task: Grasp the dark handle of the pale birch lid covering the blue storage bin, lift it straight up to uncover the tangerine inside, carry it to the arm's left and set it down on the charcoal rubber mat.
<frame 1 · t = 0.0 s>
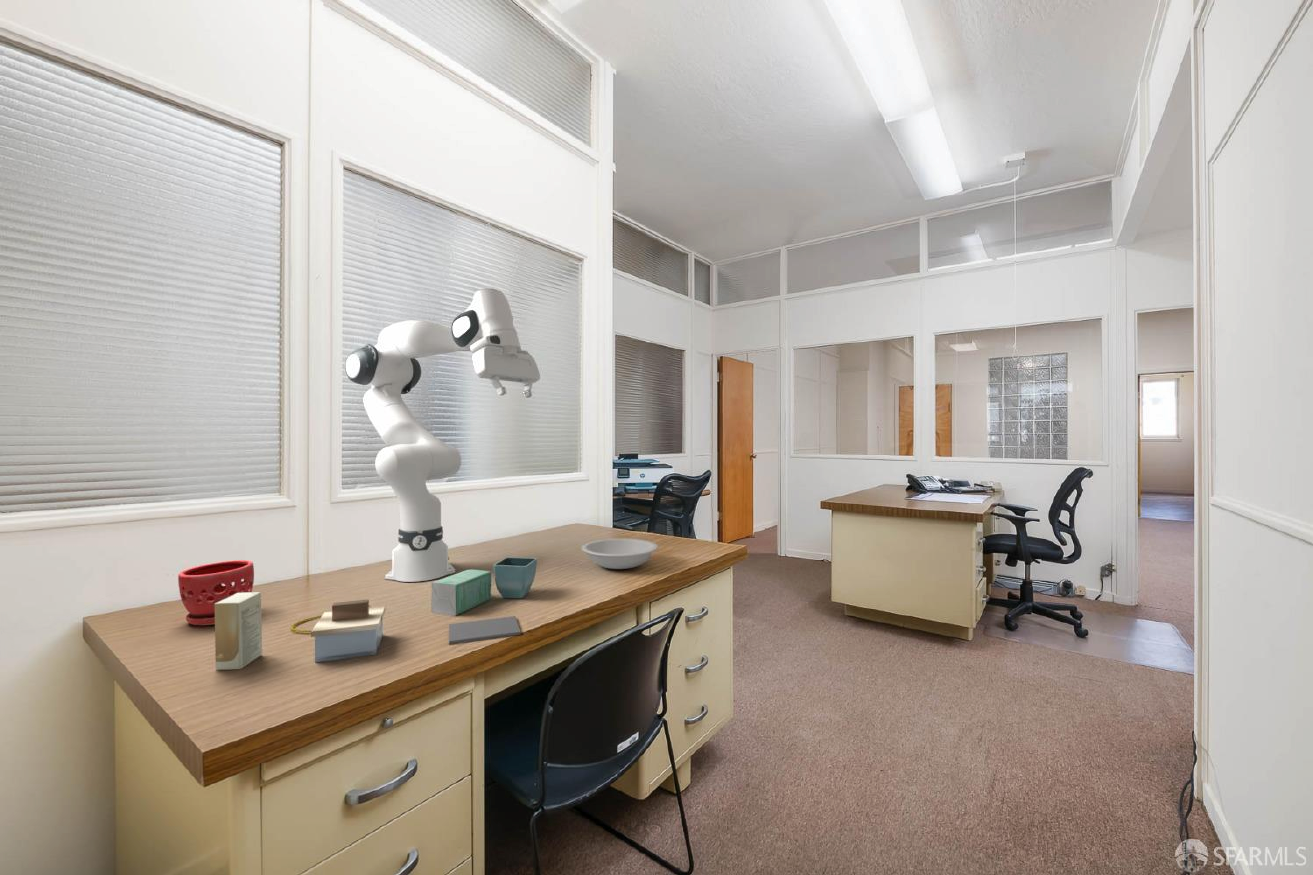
hand: (515, 395, 135), 52 cm above the table, tool tilted 20°, fingers open, 8 cm apart
soup bowl: (620, 567, 165), on the table
blue storage bin: (350, 647, 103), on the table
birch lid: (350, 622, 103), point 5 cm above the table, touching blue storage bin
extension cord: (334, 625, 116), on the table
box: (462, 606, 128), on the table
rubber mat: (484, 630, 112), on the table
skincare box: (239, 663, 96), on the table
flower pot: (515, 596, 135), on the table
tangerine: (350, 635, 103), point 2 cm above the table, touching blue storage bin
plant pot: (217, 619, 118), on the table
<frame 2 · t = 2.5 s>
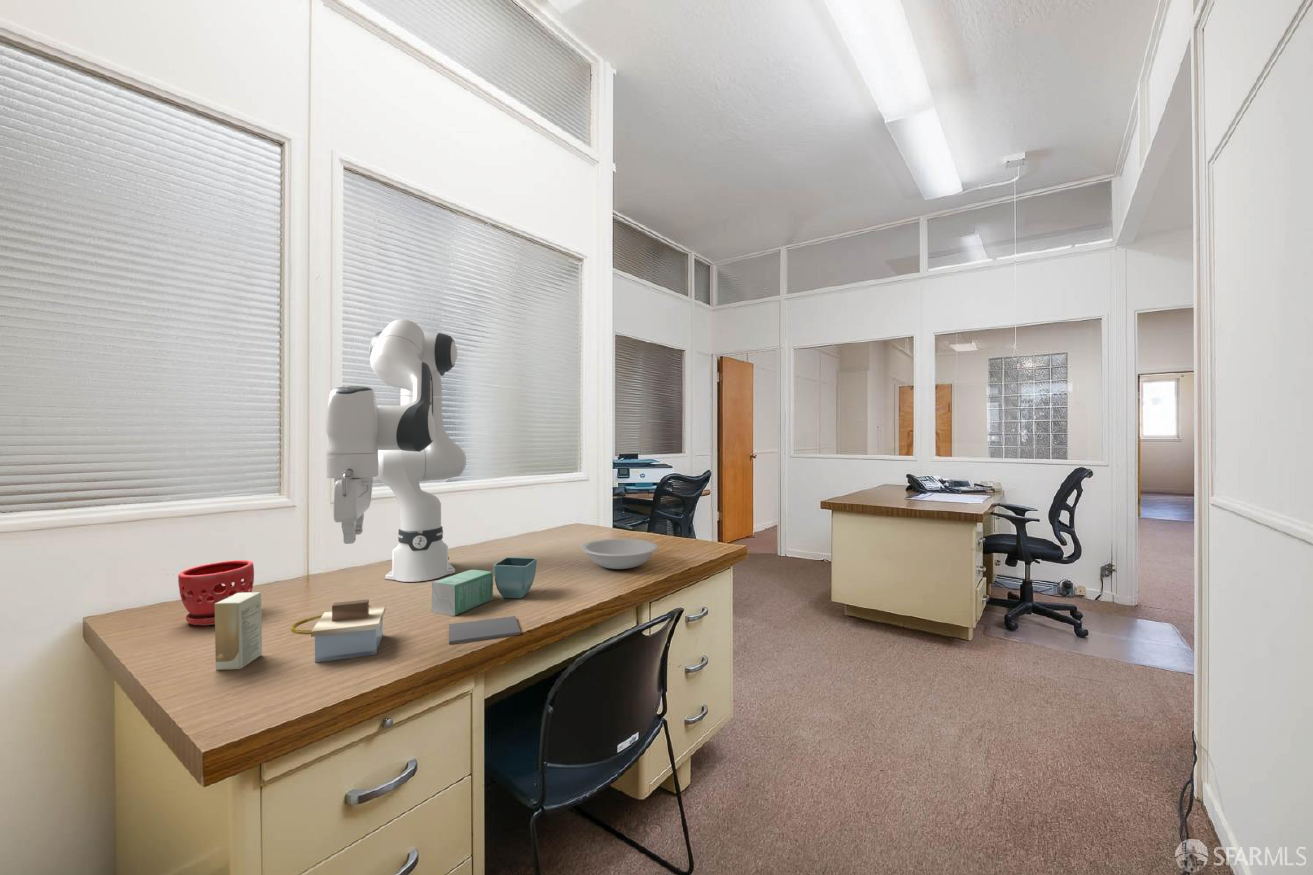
hand: (353, 538, 102), 22 cm above the table, tool pointing down, fingers open, 8 cm apart
nothing on the table moved.
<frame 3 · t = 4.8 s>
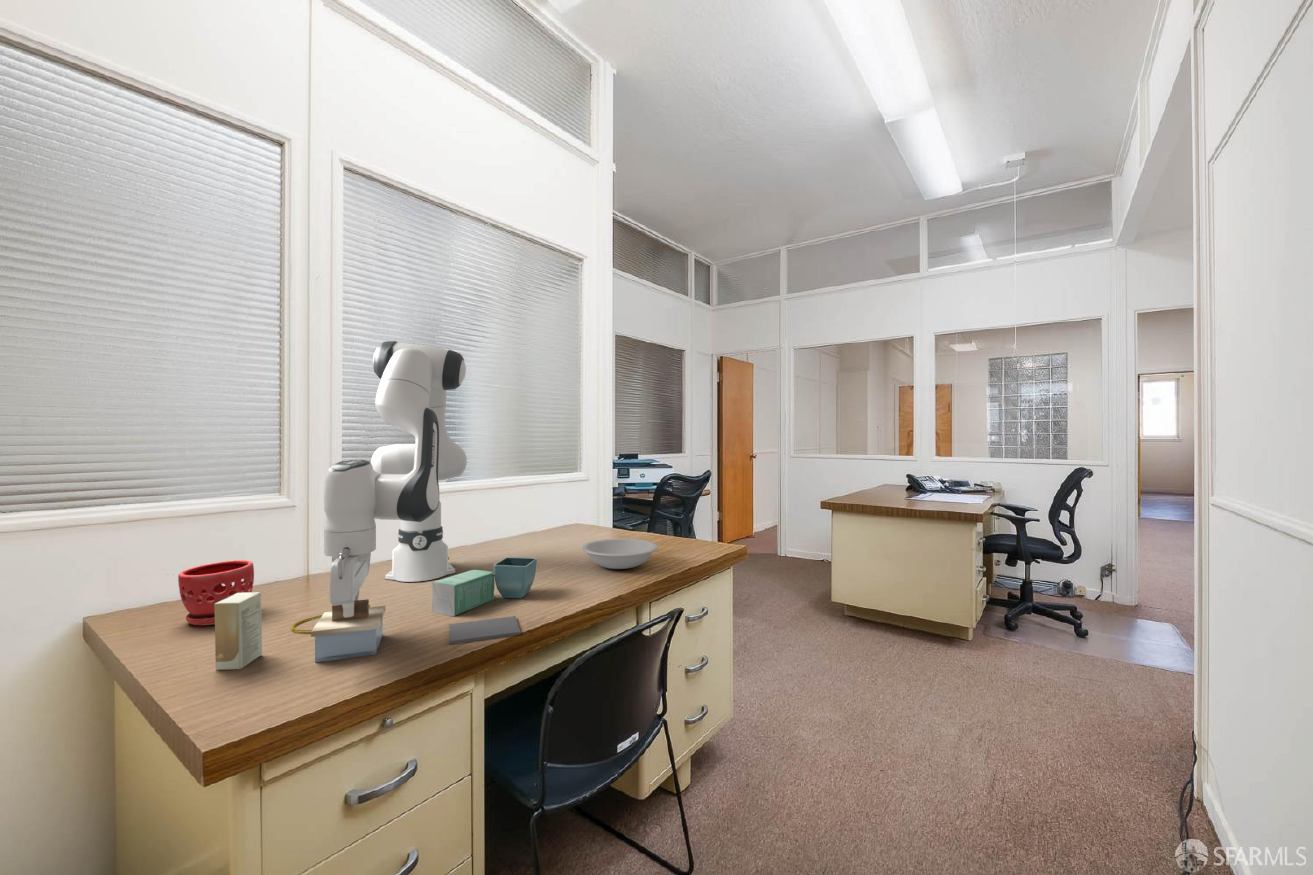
hand: (350, 613, 103), 7 cm above the table, tool pointing down, fingers closed on birch lid, 2 cm apart
birch lid: (350, 622, 103), point 5 cm above the table, touching blue storage bin, gripper
everything else where it was.
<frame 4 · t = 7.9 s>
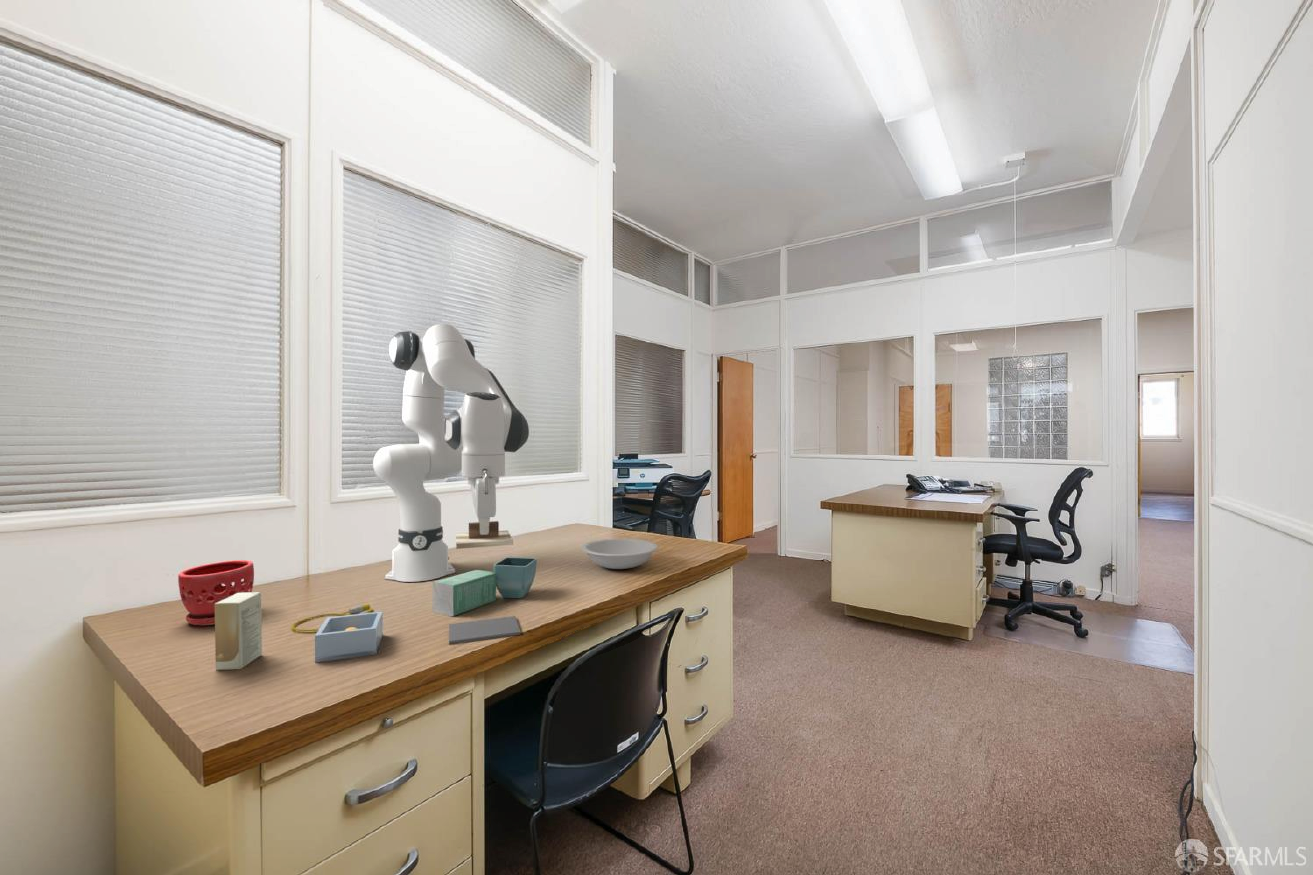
hand: (483, 532, 111), 21 cm above the table, tool pointing down, fingers closed on birch lid
birch lid: (483, 541, 111), point 19 cm above the table, touching gripper
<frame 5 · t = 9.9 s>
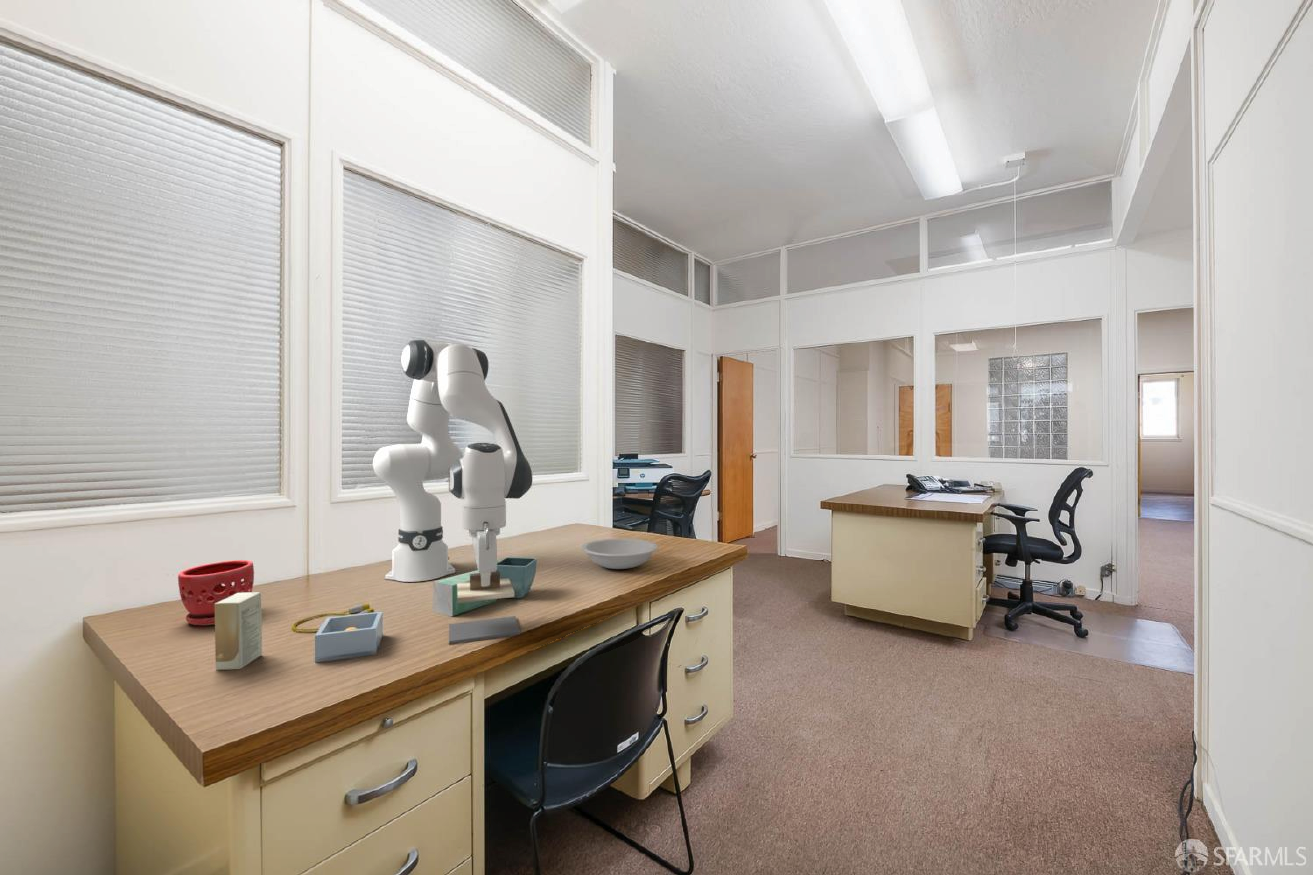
hand: (484, 583, 112), 10 cm above the table, tool pointing down, fingers closed on birch lid
birch lid: (484, 592, 112), point 8 cm above the table, touching gripper
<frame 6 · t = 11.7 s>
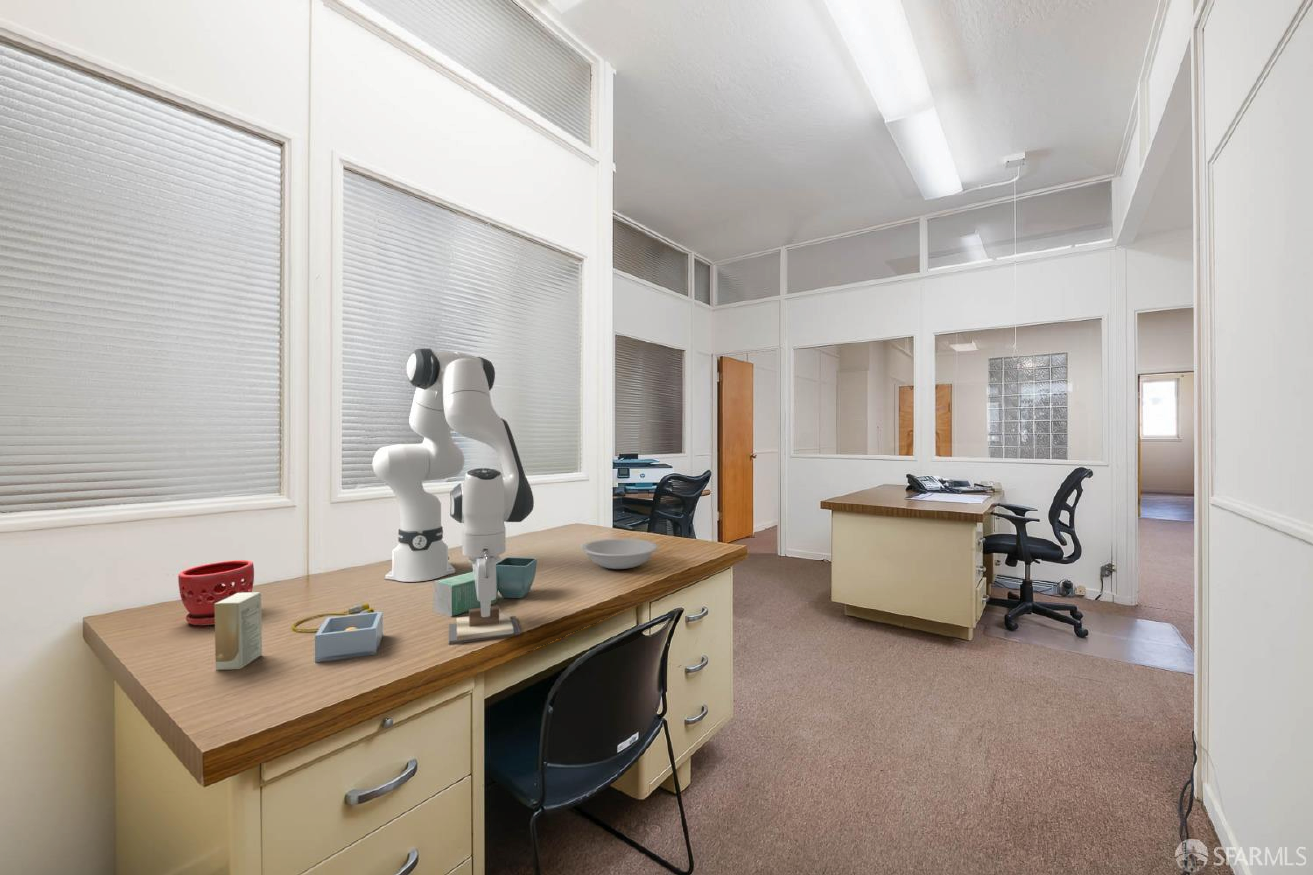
hand: (484, 609, 112), 5 cm above the table, tool pointing down, fingers open, 7 cm apart
birch lid: (484, 627, 112), point 1 cm above the table, touching rubber mat
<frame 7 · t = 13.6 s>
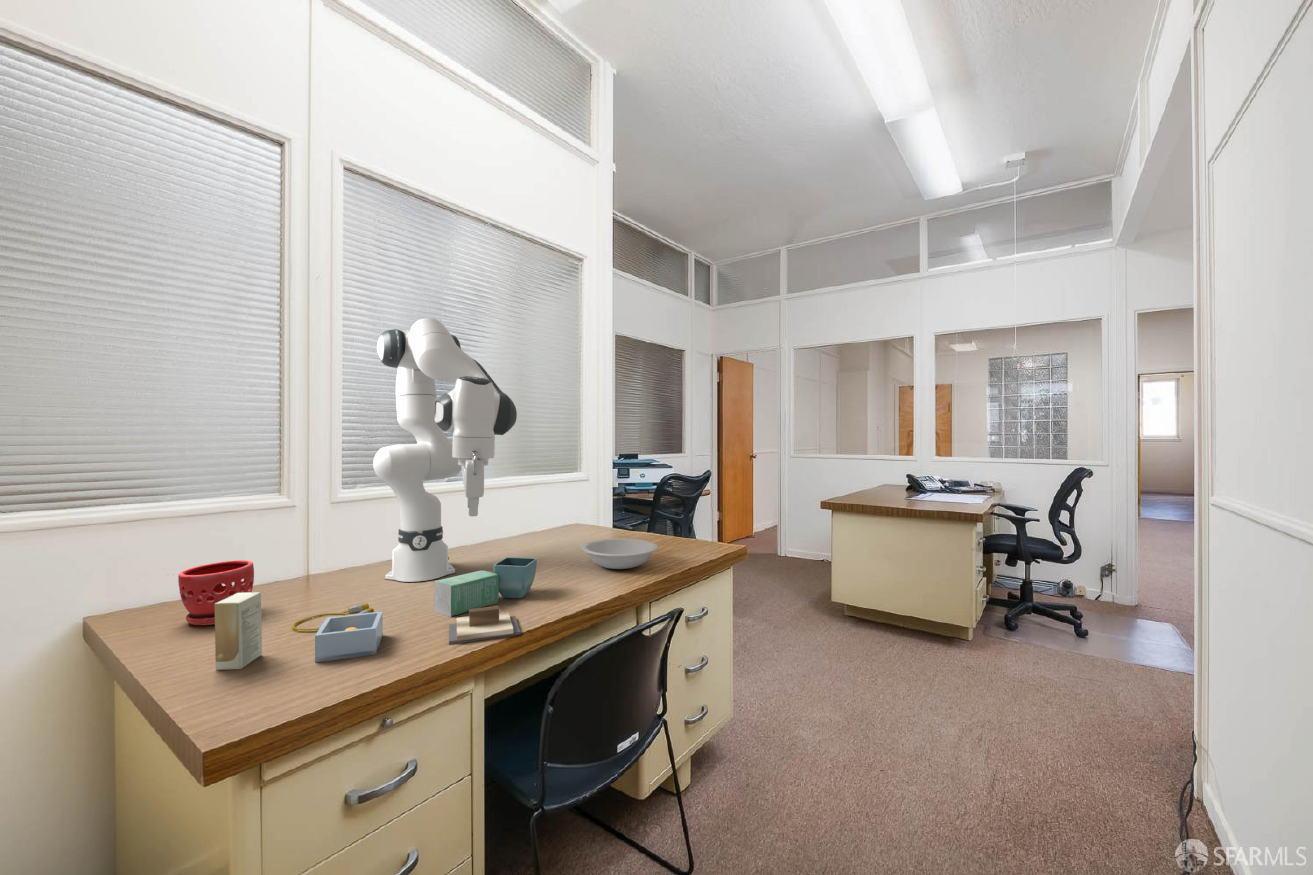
hand: (472, 511, 116), 25 cm above the table, tool pointing down, fingers open, 8 cm apart
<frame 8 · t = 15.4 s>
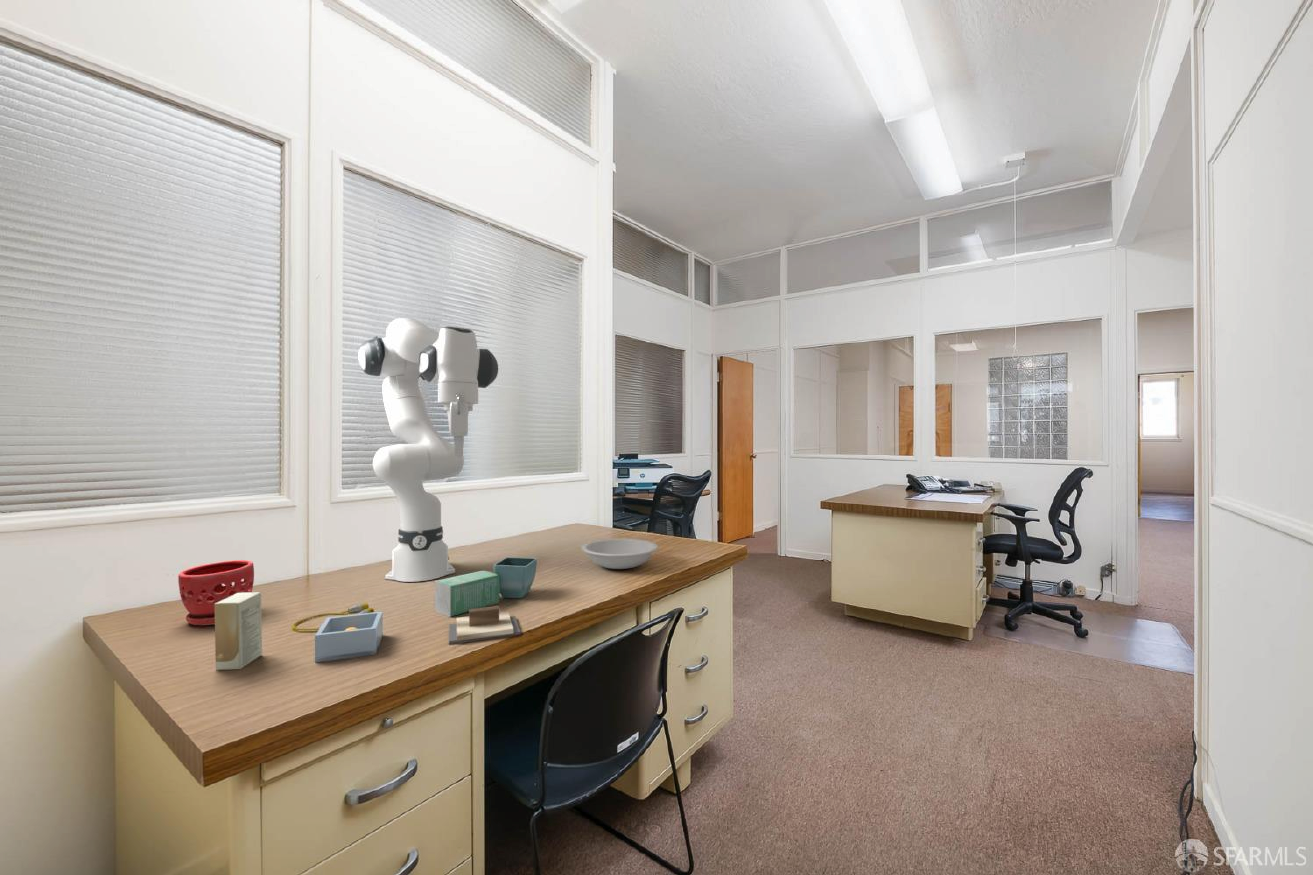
hand: (458, 455, 122), 37 cm above the table, tool pointing down, fingers open, 8 cm apart
at the end: birch lid inside the target area on the rubber mat (0.1 cm from its centre), point 0.6 cm above the rubber mat's base; birch lid touching rubber mat; birch lid tilted 0° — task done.
